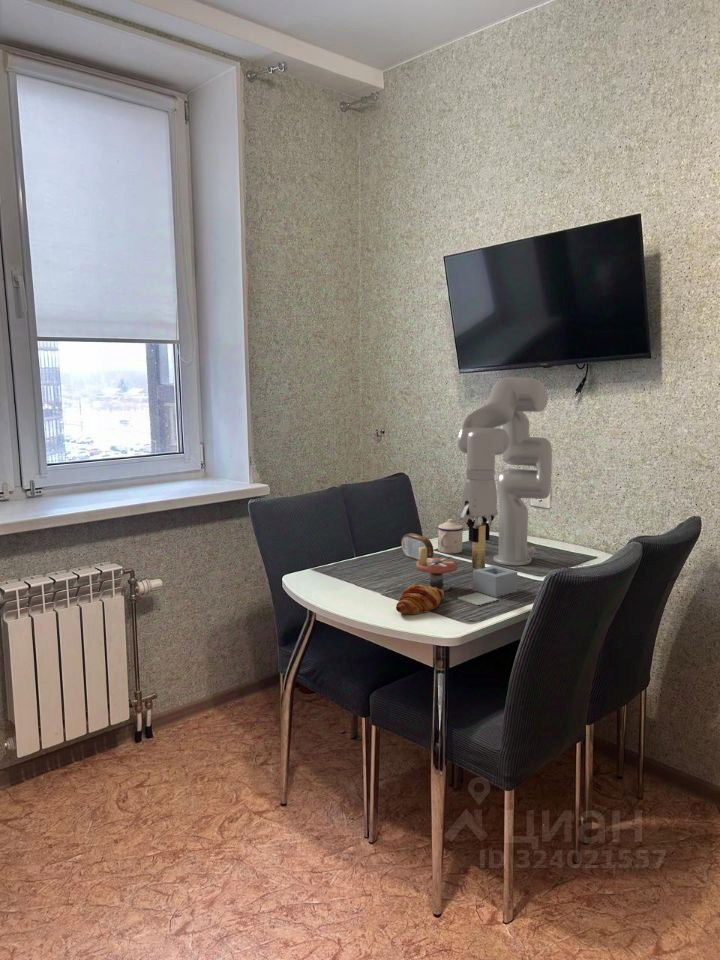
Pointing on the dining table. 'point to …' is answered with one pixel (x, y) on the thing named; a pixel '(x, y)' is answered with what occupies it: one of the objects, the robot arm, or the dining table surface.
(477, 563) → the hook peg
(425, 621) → the dining table surface
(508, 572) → the eye block
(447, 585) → the wheel post
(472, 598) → the sage mat
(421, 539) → the tin
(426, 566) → the handwheel
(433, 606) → the croissant
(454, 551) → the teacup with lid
